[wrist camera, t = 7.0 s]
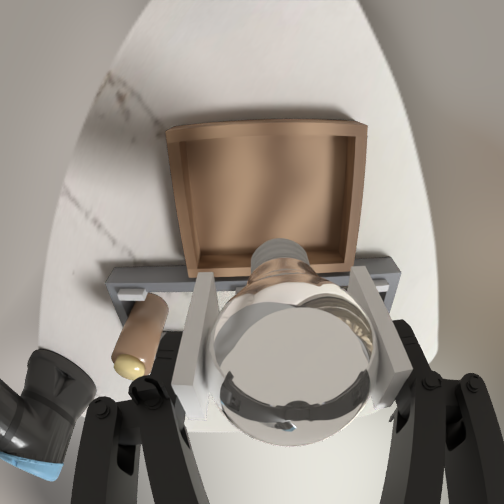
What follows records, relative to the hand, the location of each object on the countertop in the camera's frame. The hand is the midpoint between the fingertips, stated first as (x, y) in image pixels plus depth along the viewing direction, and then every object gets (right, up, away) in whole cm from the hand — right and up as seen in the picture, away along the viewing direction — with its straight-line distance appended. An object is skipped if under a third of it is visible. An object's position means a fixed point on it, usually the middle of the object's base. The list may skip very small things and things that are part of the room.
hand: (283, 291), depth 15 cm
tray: (0, +7, +12) cm, 14 cm away
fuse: (-14, -5, +20) cm, 24 cm away
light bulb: (0, +2, +4) cm, 4 cm away
